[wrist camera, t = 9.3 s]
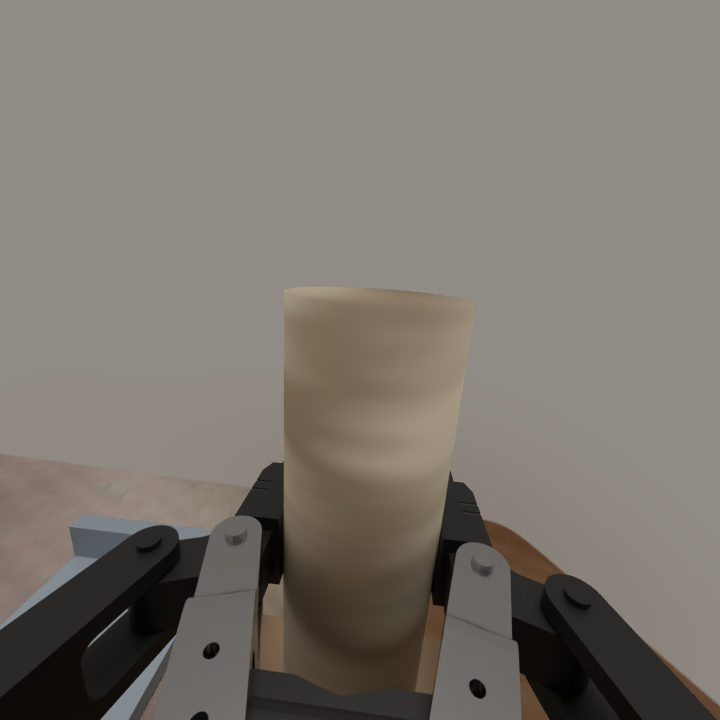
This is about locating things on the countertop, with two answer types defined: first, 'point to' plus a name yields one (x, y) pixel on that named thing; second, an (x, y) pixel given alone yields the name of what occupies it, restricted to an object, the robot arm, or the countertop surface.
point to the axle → (366, 477)
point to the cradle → (90, 545)
